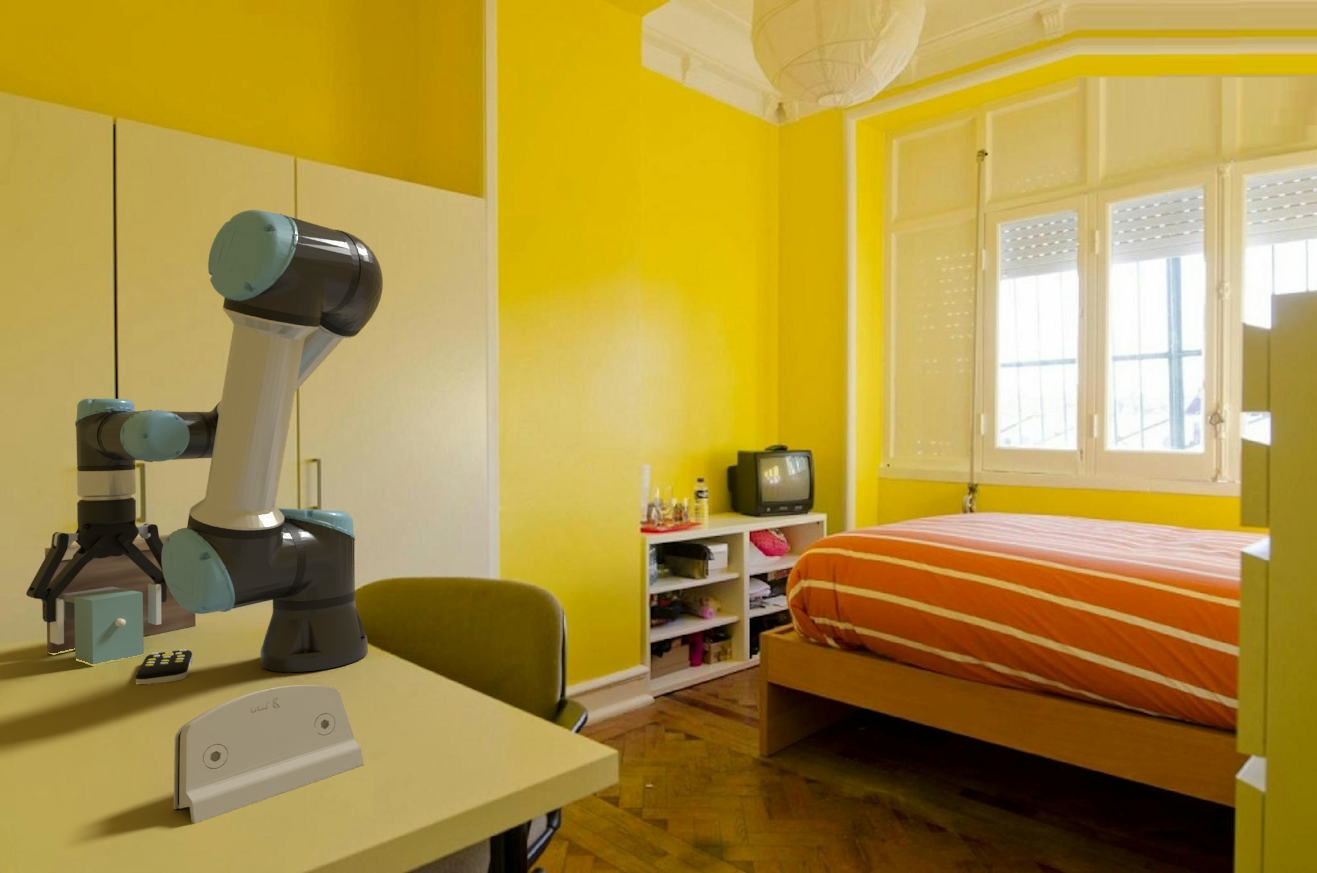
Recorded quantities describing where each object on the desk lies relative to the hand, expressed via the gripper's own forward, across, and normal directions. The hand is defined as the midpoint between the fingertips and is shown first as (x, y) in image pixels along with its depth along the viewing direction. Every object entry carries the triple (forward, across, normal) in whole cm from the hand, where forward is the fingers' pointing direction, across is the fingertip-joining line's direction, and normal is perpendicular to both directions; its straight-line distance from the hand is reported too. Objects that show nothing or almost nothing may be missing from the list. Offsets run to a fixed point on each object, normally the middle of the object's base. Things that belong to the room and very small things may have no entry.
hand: (108, 632), depth 123 cm
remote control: (+4, -1, +15) cm, 16 cm away
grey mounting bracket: (+3, +13, +64) cm, 66 cm away
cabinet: (+4, 0, -1) cm, 4 cm away
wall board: (+4, -7, -10) cm, 13 cm away
